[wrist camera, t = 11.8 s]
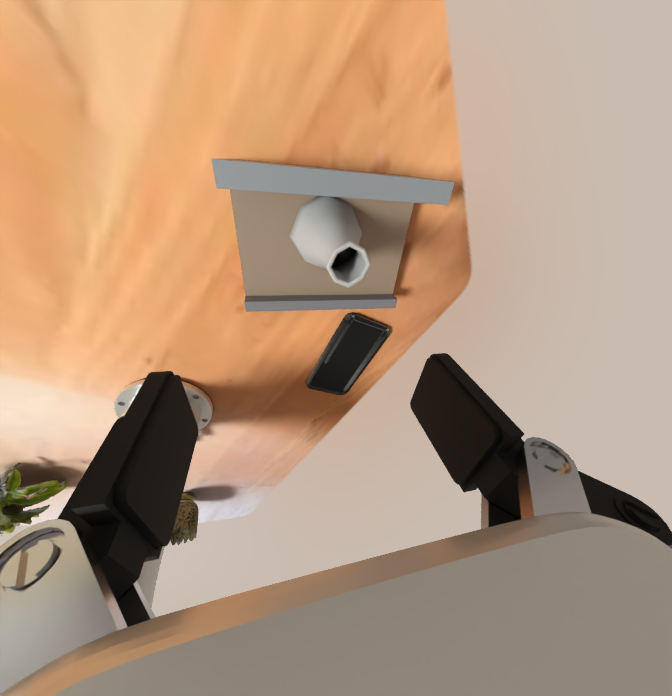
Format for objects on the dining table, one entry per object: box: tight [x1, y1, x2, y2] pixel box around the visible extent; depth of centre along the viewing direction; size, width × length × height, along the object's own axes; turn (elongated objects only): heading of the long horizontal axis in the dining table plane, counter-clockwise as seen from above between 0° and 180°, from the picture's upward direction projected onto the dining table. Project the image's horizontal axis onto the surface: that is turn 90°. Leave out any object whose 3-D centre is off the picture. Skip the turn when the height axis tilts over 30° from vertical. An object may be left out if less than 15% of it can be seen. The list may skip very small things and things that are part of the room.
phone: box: [307, 312, 390, 395], centre depth 39 cm, size 8×1×15 cm
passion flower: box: [0, 463, 68, 534], centre depth 38 cm, size 11×11×12 cm
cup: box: [170, 493, 198, 545], centre depth 51 cm, size 8×7×8 cm
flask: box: [289, 196, 371, 288], centre depth 22 cm, size 7×7×10 cm
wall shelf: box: [212, 159, 455, 312], centre depth 25 cm, size 14×18×8 cm
